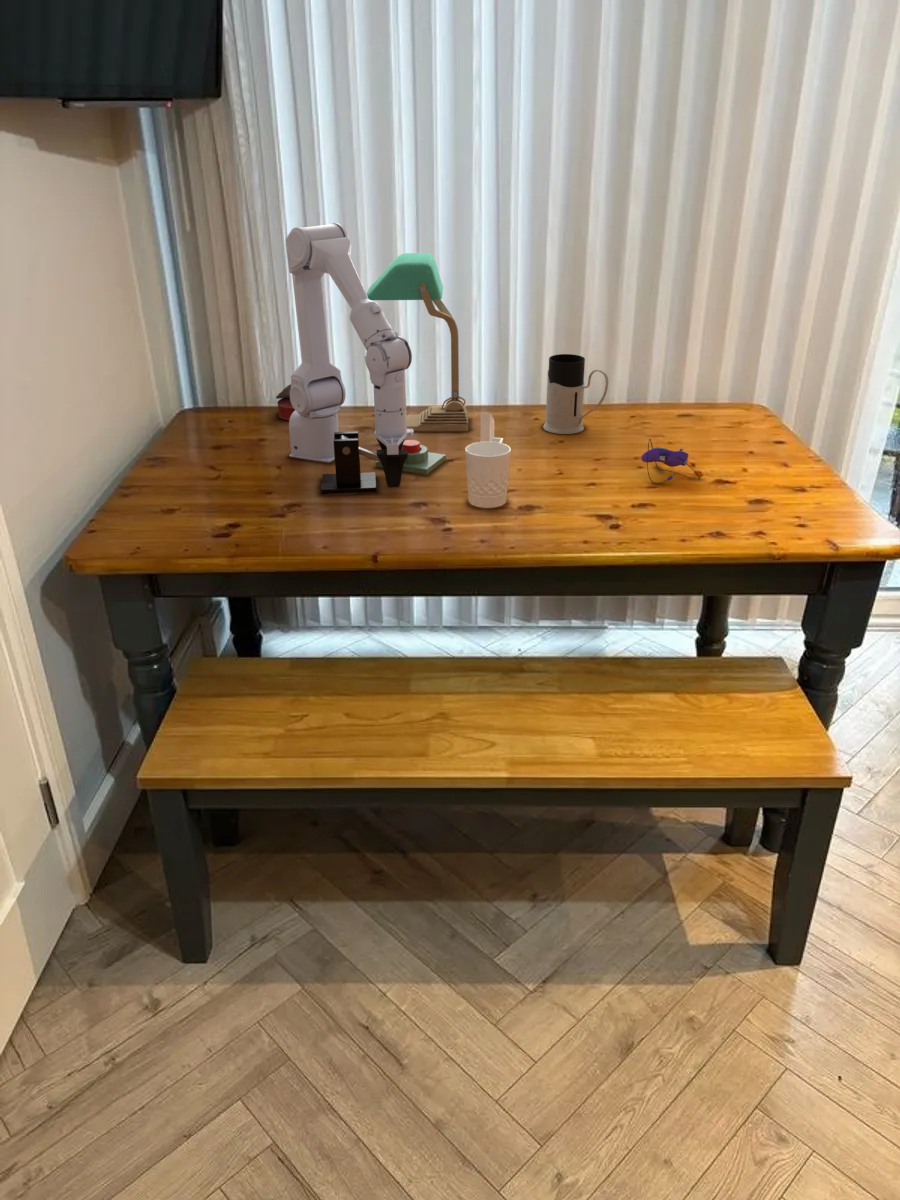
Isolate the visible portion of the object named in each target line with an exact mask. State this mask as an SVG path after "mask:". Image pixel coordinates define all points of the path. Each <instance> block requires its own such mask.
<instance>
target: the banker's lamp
mask: <svg viewBox="0 0 900 1200" xmlns="http://www.w3.org/2000/svg"><path fill="white" fill-rule="evenodd" d="M437 265H438V264H437V262H436V259H435V257H434V256H433V255H432V254H431V253H427V252H407V253H401V254H399V255H398V256H396V257H395V258H394V259H393V260H392V261H391V263H390V264H389V265H388V266H387V267H386V268H385V269H384V270H383V272H381V273H380V275H379V276H378V277H377V278H376V279H375V281H374V282H373V283H372V284H371V285H370V286H369V288H368V290H367V291H366V294H367V296H368V299H369V300H372V301H423V303H424V306H425V308H426V310H427V312H428V314H429V315H430V316H432V317H434V318H439V319H442V320H443V321H445V322H446V325H447V326H448V329H449V333H450V369H451V370H450V374H451V375H450V376H451V377H450V379H451V381H450V382H451V385H450V387H451V392H450V393H451V397H448V398H446V399H445V400H444V401H443V403H442V404H440V405H437V404H436V405H433V404H432V406H428V408H426V409H425V410H423V411H422V412H420V414H406V416H407V429H413V432H469V412H468V410H467V406H466V399H465V398H464V397H462V396H460V379H459V377H460V376H459V375H460V374H459V373H460V371H459V370H460V369H459V367H460V365H459V364H460V362H459V359H460V358H459V357H460V356H459V355H460V354H459V329H458V326H457V323H456V320H455V319H454V317H453V316H452V315H453V314H451V312H450V311H449V309H448V308H447V306H446V305H445V303H443V300H442V299H443V293H444V285H443V281H442V278H441V275H440V272H439V268H438V266H437ZM436 308H437V309H436Z"/></svg>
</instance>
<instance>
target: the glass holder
mask: <svg viewBox="0 0 900 1200" xmlns="http://www.w3.org/2000/svg"><path fill="white" fill-rule="evenodd" d="M585 364H586V358H585V356H582V355H578V354H574V353H573V354H571V353H561V354H554V355H551V356H549V357H548V369H547V379H546V380H547V381H546V403H545V421H544V424H543V425H542V426H543V427H542V428H543V429H544V431H546V432H549V433H552V434H557V435H572V434H578V433H581V432H583V431H584V429H585V427H584V423H583V419H584V418H585V417H586V416H588V415H589V414H591V413H592V412H594V411H595V410H596V409H597V408H599V407H600V406H601V405H602V403H603V402H604V400H605V398H606V396H607V393H608V390H609V389H608V388H609V376H608V375H607V373H606V371H604V370H602V369H600V368H599V369H598V368H597V369H594V370H592V371H591V372H590V373H589V375H588V378H587V385H586V386H585V367H586V366H585ZM595 372H599V373H601V374H602V375H603V376H604V379H605V387H604V392H603V395H602V396H601V399H600V400H599V401H598V403H597V404H596V405H595V406H594V407H593V408H592V409H590V410H588V411H587V412H585V413H584V398H585V397H584V395H585V389H588V388H590V386H591V383H592V382H591V381H592V376H593V374H594V373H595ZM583 413H584V414H583Z"/></svg>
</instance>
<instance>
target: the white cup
mask: <svg viewBox="0 0 900 1200" xmlns="http://www.w3.org/2000/svg"><path fill="white" fill-rule="evenodd" d="M511 449H512V447H510V446H509V445H508V444H506V443H504V442H503V443H500V442H491V441H484V442H480V441H476V442H472V443H470V444H468V445H466V446H465V448H464V450H465V451H464V452H465V472H466V474H465V475H466V486H467V497H468V498H467V500H468V503H469V504H470V505H471V506H474V507H477V508H483V509H489V508H490V509H492V508H497V507H502V506H504V505H505V504H506V503H507V496H508V495H507V493H508V489H509V481H510V465H511V453H512V450H511Z"/></svg>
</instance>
